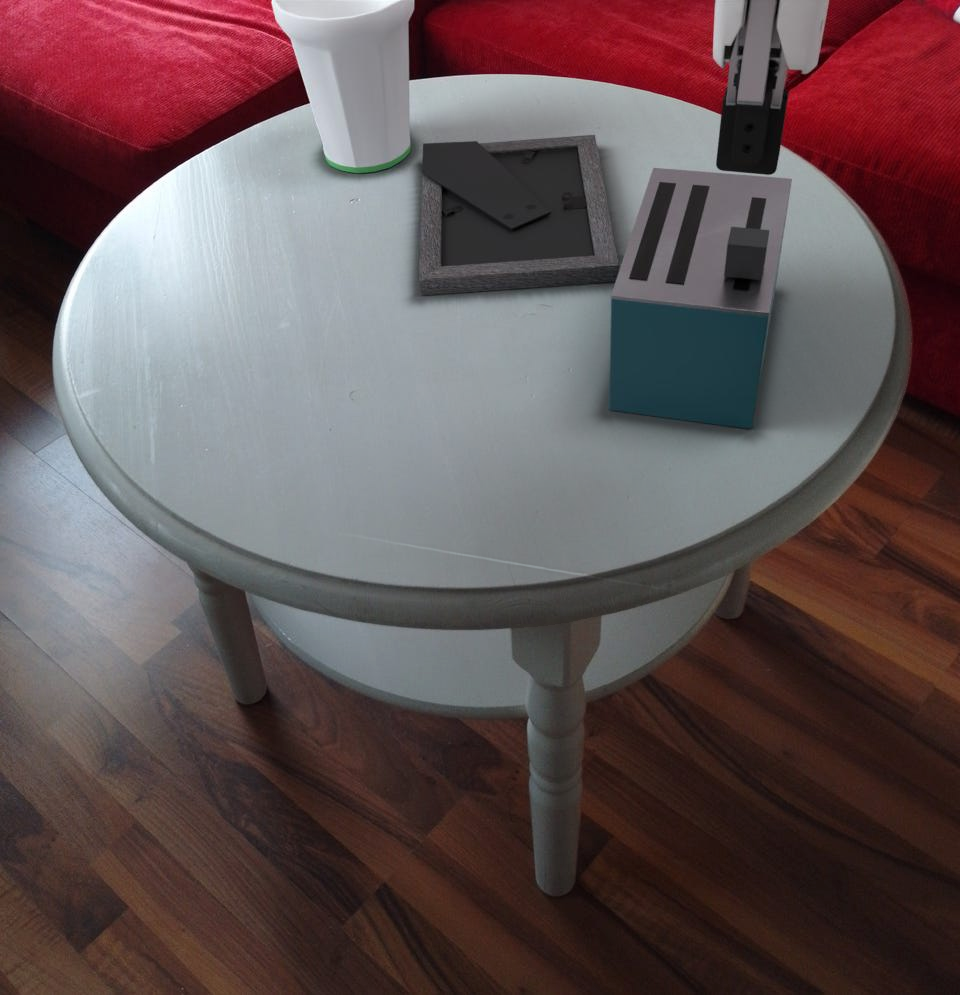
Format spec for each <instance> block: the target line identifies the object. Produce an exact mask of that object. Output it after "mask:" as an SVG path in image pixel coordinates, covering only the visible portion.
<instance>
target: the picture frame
mask: <svg viewBox="0 0 960 995" xmlns="http://www.w3.org/2000/svg"><path fill="white" fill-rule="evenodd" d="M421 163H422V165H421V168H422V169H421V172H422V179H421V180H422V182H421V185H422V186H421V212H420V213H421V214H420V215H421V216H420V238H419V239H420V242H419V268H418V283H419V290H420V296H433V295H447V294H448V295H449V294H460V293H463V294H464V293H476V292H491V291H503V290H515V289H516V290H517V289H531V288H532V289H533V288H545V287H547V288H548V287H561V286H574V285H588V284H591V285H592V284H602V283H603V284H604V283H615V282H616V279H617V276H618V273H619V270H620V268H619V267H620V264H619V259H618V253H617V248H616V243H615V236H614V231H613V225H612V220H611V216H610V215H611V214H610V209H609V204H608V199H607V198H608V197H607V194H606V188H605V182H604V177H603V172H602V171H603V170H602V165H601V161H600V154H599V150H598V144H597V139H596V135H595V134H584V135H573V136H572V135H571V136H558V137H546V138H532V139H518V140H506V141H492V142H491V141H490V142H478V141H477V140H473V141H470V140H469V141H468V140H467V141H449V142H447V141H445V142H425V143H422V162H421Z"/></svg>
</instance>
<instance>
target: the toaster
mask: <svg viewBox="0 0 960 995" xmlns="http://www.w3.org/2000/svg"><path fill="white" fill-rule="evenodd" d="M792 181H793V178H789V177H776V176H762V175H751V174H750V175H749V174H739V173H738V174H737V173H725V172H711V171H700V170H686V169H675V168H662V167H652V170H651V173H650V177H649V179H648V182H647V185H646V189H645V192H644V195H643V198H642V200H641V204H640V207H639V210H638V213H637V216H636V219H635V221H634V225H633V228H632V231H631V233H630V236H629V240H628V243H627V246H626V249H625V251H624V255H623V258H622V261H621V264H620V266H619V267H620V268H619V273H618V276H617V279H616V282H614V286H613V287H612V288H613V289H612V291H611V295H610V333H609V334H610V337H609V338H610V340H609V390H608V410H609V411H612V412H620V413H628V414H635V415H636V414H637V415H643V416H650V417H658V418H665V419H674V420H680V421H688V422H693V423H694V422H696V423H702V424H709V425H710V424H711V425H718V426H725V427H733V428H739V429H747V430H752V429H753V425H754V419H755V413H756V407H757V403H758V402H757V401H758V396H759V390H760V384H761V379H762V371H763V365H764V360H765V355H766V347H767V342H768V336H769V331H770V323H771V319H772V318H771V317H772V314H773V312H772V311H773V308H774V307H773V306H774V301H775V300H774V299H775V293H776V287H777V283H778V282H777V281H778V275H779V269H780V261H781V255H782V248H783V243H784V242H783V241H784V236H785V235H784V234H785V228H786V222H787V221H786V220H787V215H788V209H789V202H790V196H791V188H792ZM731 227H741V228H752V229H763V230H769V237H768V244H767V251H766V259H765V265H764V271H763V276H762V280H754V279H744V278H734V277H725V276H724V271H725V262H726V252H727V244H728V239H729V235H730V230H731Z"/></svg>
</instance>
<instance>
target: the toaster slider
mask: <svg viewBox="0 0 960 995" xmlns="http://www.w3.org/2000/svg"><path fill="white" fill-rule="evenodd" d="M768 237H769V230H763V229H752V228H741V227H731V230H730V235H729V239H728V244H727V252H726V262H725V271H724V276H725V277H734V278H744V279H754V280H762V276H763V271H764V265H765V259H766V251H767V244H768Z"/></svg>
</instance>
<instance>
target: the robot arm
mask: <svg viewBox="0 0 960 995" xmlns="http://www.w3.org/2000/svg"><path fill="white" fill-rule="evenodd" d="M829 4H830V0H714V15H713V16H714V17H713V37H712V38H713V39H712V40H713V41H712V59H713V60H714V62H715V63H716V64H717V65H718V67H720V68H722V69H725V67H726V65H727V63H728V64H729V69H728V79H727V86H725V91H724V95H723V98H722V102H721V103H722V104H721V112H720V123H719V132H718V142H717V150H716V151H717V152H716V160H715V166H716V168H717V170H719V171H722V172H732V173H733V172H734V173H744V174H752V175H753V174H755V175H765V176H766V175H767V176H771V175H773V174H775V173H776V171H777V169H778V165H779V164H778V163H779V158H780V152H781V148H782V147H781V146H782V141H783V140H782V139H783V134H784V126H785V121H786V120H785V119H786V113H787V108H788V101H789V100H788V99H789V93H790V90H786V89H785V87H786V82H787V76H788V70H791V71H801V75H802V74H803V75H807V74H809V73H810V72H812V71H813V70H814V69H815V68H816V67H817V66H818V63H819V58H820V52H821V47H822V41H823V36H824V31H825V25H826V20H827V15H828V9H829ZM784 89H785V90H784Z"/></svg>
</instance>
